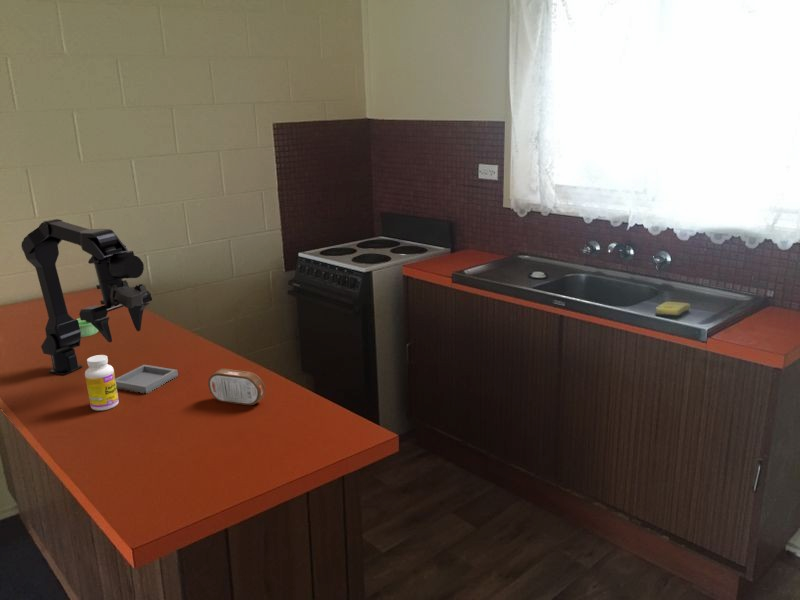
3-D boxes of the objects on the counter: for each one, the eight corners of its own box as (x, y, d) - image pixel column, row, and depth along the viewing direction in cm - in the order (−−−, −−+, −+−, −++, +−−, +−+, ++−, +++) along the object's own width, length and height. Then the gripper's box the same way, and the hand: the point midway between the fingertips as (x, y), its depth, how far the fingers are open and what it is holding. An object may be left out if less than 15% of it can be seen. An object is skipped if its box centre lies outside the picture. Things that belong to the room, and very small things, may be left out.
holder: (112, 387, 182) (111, 380, 181) (145, 371, 192) (143, 364, 192) (146, 394, 177) (145, 387, 176) (178, 376, 187) (177, 369, 187)
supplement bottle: (109, 412, 167) (100, 364, 164) (85, 410, 169) (76, 362, 165) (124, 400, 174) (116, 353, 170) (101, 399, 175) (93, 352, 171)
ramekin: (105, 331, 228) (103, 319, 226) (81, 339, 220) (79, 327, 219) (89, 327, 232) (87, 315, 231) (65, 335, 225) (62, 323, 224)
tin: (267, 403, 169) (264, 371, 167) (260, 408, 166) (257, 376, 164) (215, 396, 174) (211, 366, 172) (208, 401, 171) (204, 370, 169)
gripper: (100, 287, 163) (116, 349, 167) (159, 269, 179) (173, 325, 182) (71, 288, 169) (86, 348, 172) (131, 270, 184) (144, 325, 188)
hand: (124, 336), depth 179 cm, fingers open, 9 cm apart
